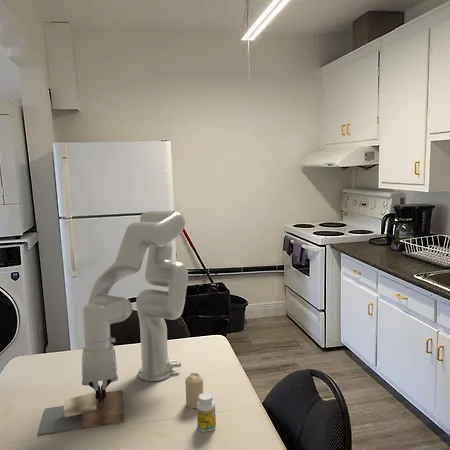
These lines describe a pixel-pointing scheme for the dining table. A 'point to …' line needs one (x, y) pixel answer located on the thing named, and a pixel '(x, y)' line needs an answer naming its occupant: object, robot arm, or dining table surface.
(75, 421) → the mat
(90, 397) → the tile
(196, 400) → the candle
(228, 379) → the dining table surface
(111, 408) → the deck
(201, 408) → the supplement bottle
